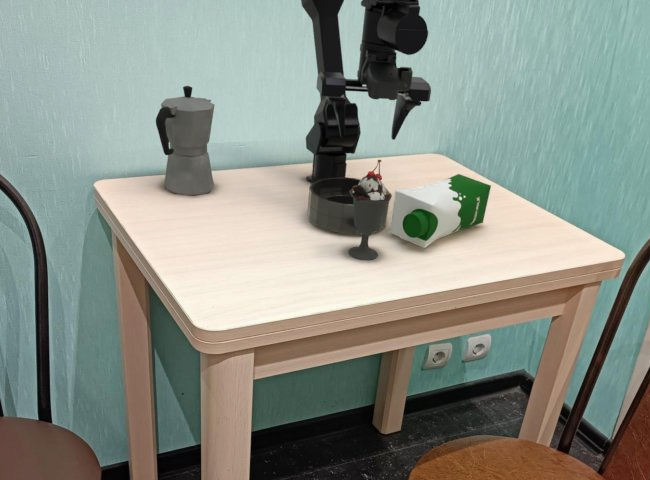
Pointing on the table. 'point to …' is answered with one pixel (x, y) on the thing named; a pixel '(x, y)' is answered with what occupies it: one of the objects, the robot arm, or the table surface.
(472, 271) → the table surface
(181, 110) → the coffeepot
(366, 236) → the sundae
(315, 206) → the bowl
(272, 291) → the table surface
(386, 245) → the table surface
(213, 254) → the table surface
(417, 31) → the robot arm
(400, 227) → the milk carton
